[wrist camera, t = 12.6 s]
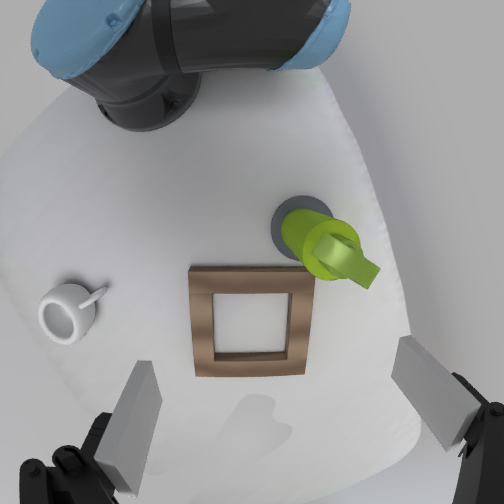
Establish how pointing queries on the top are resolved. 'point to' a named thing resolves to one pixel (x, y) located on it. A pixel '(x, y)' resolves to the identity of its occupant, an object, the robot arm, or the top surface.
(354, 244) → the soap dispenser
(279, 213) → the coaster
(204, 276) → the pocket frame
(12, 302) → the top surface
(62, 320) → the mug
